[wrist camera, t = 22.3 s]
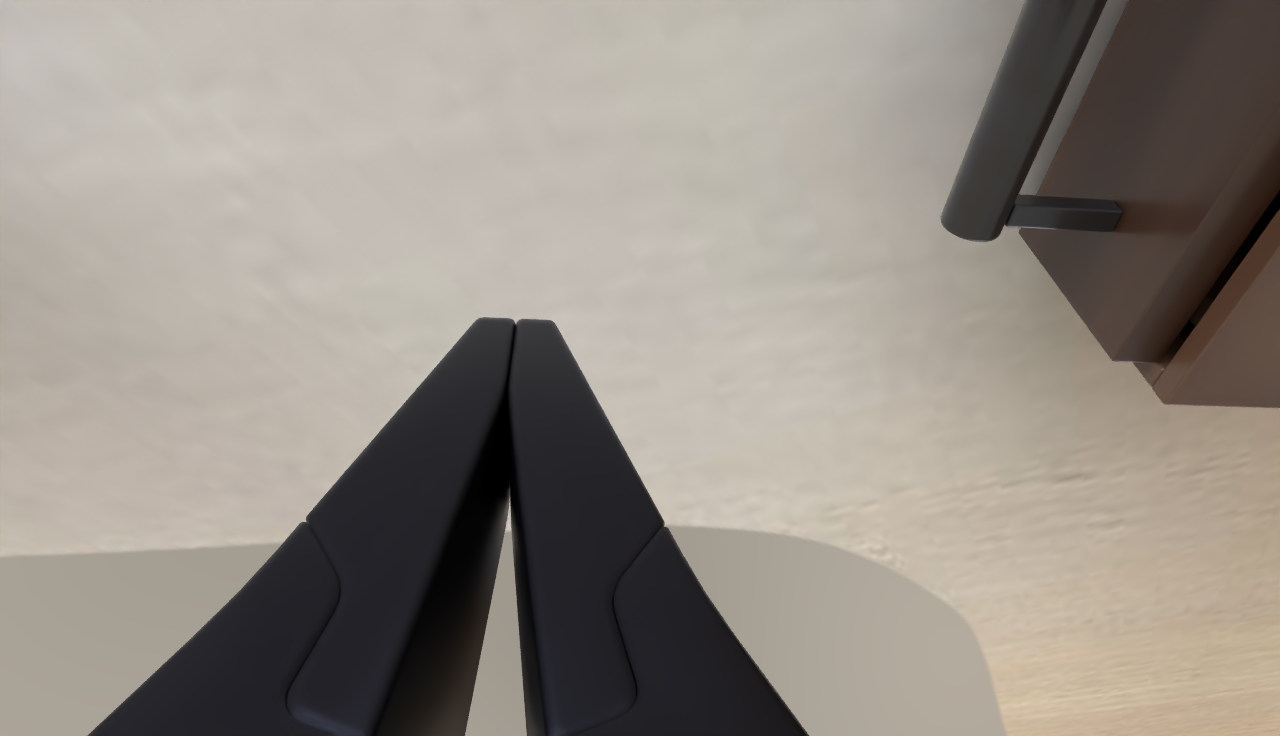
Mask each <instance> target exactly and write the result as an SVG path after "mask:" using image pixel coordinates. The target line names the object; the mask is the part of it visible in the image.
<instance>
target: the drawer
mask: <svg viewBox="0 0 1280 736" xmlns="http://www.w3.org/2000/svg"><path fill="white" fill-rule="evenodd" d="M1106 2H1107V0H1026V1H1025V3H1024V6H1023V8H1022V11H1021V13H1020V16H1019V18H1018V21H1017V24H1016V26H1015V29H1014V31H1013V34H1012V36H1011V39H1010V41H1009V44H1008V46H1007V49H1006V52H1005V54H1004V57H1003V59H1002V62H1001V64H1000V67H999V69H998V72H997V74H996V77H995V79H994V82H993V85H992V87H991V90H990V92H989V95H988V97H987V100H986V102H985V105H984V107H983V110H982V113H981V115H980V118H979V120H978V123H977V125H976V128H975V130H974V133H973V135H972V138H971V140H970V143H969V146H968V148H967V151H966V153H965V156H964V158H963V161H962V163H961V166H960V168H959V171H958V174H957V176H956V179H955V181H954V184H953V186H952V189H951V191H950V194H949V196H948V199H947V202H946V204H945V207H944V209H943V212H942V214H941V223H942V225H943V226H944V227H945V228H946V229H947V230H948V231H949V232H951V233H952V234H954V235H956V236H958V237H960V238H963V239H966V240H970V241H976V242H988V241H992V240H994V239H996V238H997V237H998V236H999V235H1000V233H1001V231H1002V229H1003V226H1004V224H1005V226H1007V227H1019V228H1021V229H1020V231H1019V234H1020V235H1021V237H1022V238H1023V240H1024V241H1025V242H1026V244H1027V245H1028V246H1029V248H1030V249H1031V251H1032V252H1033V253H1034V255H1035V256H1036V257H1037V259H1038V260H1039V261H1040V263H1041V264H1042V266H1043V267H1044V268H1045V270H1046V271H1047V272H1048V274H1049V275H1050V276H1051V278H1052V279H1053V281H1054V282H1055V283H1056V285H1057V286H1058V287H1059V289H1060V290H1061V292H1062V293H1063V294H1064V296H1065V297H1066V298H1067V300H1068V301H1069V302H1070V304H1071V305H1072V307H1073V308H1074V309H1075V311H1076V312H1077V313H1078V315H1079V316H1080V317H1081V319H1082V320H1083V322H1084V323H1085V324H1086V326H1087V327H1088V328H1089V330H1090V331H1091V333H1092V334H1093V335H1094V337H1095V338H1096V339H1097V341H1098V342H1099V343H1100V345H1101V346H1102V348H1103V349H1104V350H1105V352H1106V353H1107V354H1108V356H1109V357H1110V358H1111V360H1112V361H1115V362H1143V363H1158V362H1160V360H1161V359H1162V357H1163V356H1164V355H1165V353H1166V352H1167V350H1168V349H1169V347H1170V346H1171V345H1172V343H1173V342H1174V340H1175V339H1176V337H1177V336H1178V335H1179V333H1180V332H1181V330H1182V329H1183V327H1184V326H1185V325H1186V323H1187V322H1188V320H1190V321H1191V322H1192V323H1193V325H1194V326H1195V327H1196V325H1197V324H1198V322H1199V321H1200V320H1201V318H1202V317H1203V315H1204V314H1205V313H1206V311H1207V310H1208V308H1209V307H1210V306H1211V304H1212V303H1213V301H1214V300H1215V299H1216V297H1217V296H1218V294H1219V293H1220V292H1221V290H1222V289H1223V287H1224V286H1225V285H1226V283H1227V282H1228V280H1229V279H1230V278H1231V276H1232V275H1233V273H1234V272H1235V271H1236V269H1237V268H1238V266H1239V265H1240V264H1241V262H1242V261H1243V259H1244V258H1245V257H1246V255H1247V254H1248V252H1249V251H1250V250H1251V248H1252V247H1253V245H1254V244H1255V242H1256V241H1257V240H1258V238H1259V237H1260V235H1261V234H1262V233H1263V231H1264V230H1265V228H1266V227H1267V226H1268V224H1269V223H1270V221H1271V220H1272V219H1273V217H1274V216H1275V214H1276V213H1277V212H1278V210H1279V209H1280V0H1129V1H1128V4H1127V6H1126V8H1125V10H1124V12H1123V14H1122V16H1121V18H1120V20H1119V23H1118V25H1117V27H1116V29H1115V31H1114V33H1113V35H1112V37H1111V39H1110V41H1109V44H1108V46H1107V48H1106V50H1105V52H1104V54H1103V56H1102V58H1101V60H1100V62H1099V65H1098V67H1097V69H1096V71H1095V73H1094V75H1093V77H1092V79H1091V81H1090V83H1089V86H1088V88H1087V90H1086V92H1085V94H1084V96H1083V98H1082V100H1081V102H1080V104H1079V107H1078V109H1077V111H1076V113H1075V115H1074V117H1073V119H1072V121H1071V123H1070V126H1069V128H1068V130H1067V132H1066V134H1065V136H1064V138H1063V140H1062V142H1061V144H1060V147H1059V149H1058V151H1057V153H1056V155H1055V157H1054V159H1053V161H1052V163H1051V165H1050V168H1049V170H1048V172H1047V174H1046V176H1045V178H1044V180H1043V182H1042V184H1041V186H1040V189H1039V191H1038V193H1037V195H1019V192H1020V189H1021V187H1022V185H1023V183H1024V181H1025V178H1026V176H1027V174H1028V172H1029V170H1030V168H1031V165H1032V163H1033V161H1034V159H1035V157H1036V154H1037V152H1038V150H1039V148H1040V146H1041V144H1042V141H1043V139H1044V137H1045V135H1046V133H1047V130H1048V128H1049V126H1050V124H1051V122H1052V120H1053V117H1054V115H1055V113H1056V111H1057V109H1058V106H1059V104H1060V102H1061V100H1062V98H1063V96H1064V93H1065V91H1066V89H1067V87H1068V85H1069V82H1070V80H1071V78H1072V76H1073V74H1074V72H1075V69H1076V67H1077V65H1078V63H1079V61H1080V58H1081V56H1082V54H1083V52H1084V50H1085V48H1086V45H1087V43H1088V41H1089V39H1090V37H1091V34H1092V32H1093V30H1094V28H1095V26H1096V24H1097V21H1098V19H1099V17H1100V15H1101V13H1102V10H1103V8H1104V6H1105V4H1106Z"/></svg>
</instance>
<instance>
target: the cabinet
mask: <svg viewBox="0 0 1280 736" xmlns="http://www.w3.org/2000/svg"><path fill="white" fill-rule="evenodd" d="M1133 364H1134V365H1135V366H1136V368H1137V369H1138V370H1139V371H1140V373H1141V374H1142V375H1143V377H1144V378H1145V379H1146V381H1147V382H1148V383H1149V385H1150V386H1152V389H1153V391H1154V392H1155V393H1156V395H1157V396H1158V397H1159V398H1160V400H1161V401H1162V402H1163V404H1165V405H1193V406H1226V407H1260V408H1280V209H1279V210H1278V212H1277V213H1276V214H1275V216H1274V217H1273V219H1272V220H1271V221H1270V223H1269V224H1268V226H1267V227H1266V228H1265V230H1264V231H1263V233H1262V234H1261V235H1260V237H1259V238H1258V240H1257V241H1256V242H1255V244H1254V245H1253V247H1252V248H1251V250H1250V251H1249V252H1248V254H1247V255H1246V257H1245V258H1244V259H1243V261H1242V262H1241V264H1240V265H1239V266H1238V268H1237V269H1236V271H1235V272H1234V273H1233V275H1232V276H1231V278H1230V279H1229V280H1228V282H1227V283H1226V285H1225V286H1224V287H1223V289H1222V290H1221V292H1220V293H1219V294H1218V296H1217V297H1216V299H1215V300H1214V301H1213V303H1212V304H1211V306H1210V307H1209V308H1208V310H1207V311H1206V313H1205V314H1204V315H1203V317H1202V318H1201V320H1200V321H1199V322H1198V324H1197V325H1196V327H1195V326H1194V325H1193V323H1192V322H1191V321H1190V320H1188V322H1187V323H1186V325H1185V326H1184V327H1183V329H1182V330H1181V332H1180V333H1179V335H1178V336H1177V337H1176V339H1175V340H1174V342H1173V343H1172V345H1171V346H1170V347H1169V349H1168V350H1167V352H1166V353H1165V355H1164V356H1163V357H1162V359H1161V360H1160V362H1158V363H1143V362H1133Z"/></svg>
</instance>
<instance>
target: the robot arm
mask: <svg viewBox="0 0 1280 736" xmlns="http://www.w3.org/2000/svg"><path fill="white" fill-rule="evenodd" d="M509 500H510V503H511V528H512V541H513V553H514V567H515V582H516V595H517V608H518V622H519V635H520V648H521V661H522V676H523V689H524V702H525V716H526V729H527V736H809V735H808V734H807V732H806V731H805V729H804V728H803V727H802V725H801V724H800V723H799V721H798V720H797V719H796V717H795V716H794V715H793V713H792V712H791V710H790V709H789V708H788V706H787V705H786V704H785V702H784V701H783V700H782V698H781V697H780V696H779V694H778V693H777V692H776V690H775V689H774V688H773V686H772V685H771V684H770V682H769V681H768V679H767V678H766V677H765V675H764V674H763V673H762V671H761V670H760V669H759V667H758V666H757V664H756V663H755V662H754V660H753V659H752V658H751V656H750V655H749V654H748V652H747V651H746V650H745V648H744V647H743V646H742V644H741V643H740V642H739V640H738V639H737V638H736V636H735V635H734V633H733V632H732V630H731V629H730V627H729V626H728V624H727V623H726V622H725V620H724V619H723V617H722V616H721V614H720V613H719V611H718V610H717V609H716V607H715V606H714V604H713V603H712V601H711V600H710V598H709V597H708V596H707V594H706V592H705V591H704V589H703V587H702V586H701V584H700V582H699V581H698V579H697V578H696V576H695V574H694V573H693V571H692V569H691V568H690V566H689V564H688V562H687V561H686V559H685V557H684V556H683V554H682V552H681V550H680V549H679V547H678V545H677V543H676V541H675V540H674V538H673V536H672V534H671V532H670V531H669V529H668V528H667V527H664V520H663V518H662V517H661V515H660V513H659V511H658V509H657V508H656V506H655V504H654V502H653V500H652V498H651V497H650V495H649V493H648V491H647V489H646V488H645V486H644V484H643V482H642V480H641V478H640V477H639V475H638V473H637V471H636V469H635V468H634V466H633V464H632V462H631V460H630V458H629V457H628V455H627V453H626V451H625V449H624V448H623V446H622V444H621V442H620V440H619V439H618V437H617V435H616V433H615V431H614V429H613V428H612V426H611V424H610V422H609V420H608V419H607V417H606V415H605V413H604V411H603V409H602V408H601V406H600V404H599V402H598V400H597V399H596V397H595V395H594V393H593V391H592V389H591V388H590V386H589V384H588V382H587V380H586V379H585V377H584V375H583V373H582V371H581V370H580V368H579V366H578V364H577V362H576V360H575V359H574V357H573V355H572V353H571V351H570V350H569V348H568V346H567V344H566V342H565V340H564V339H563V337H562V335H561V333H560V331H559V330H558V328H557V326H556V325H555V323H554V322H553V321H551V320H537V319H521V320H519V321H518V322H517V324H515V322H514V320H512V319H509V318H486V317H483V318H479V319H477V320H476V321H475V322H474V323H473V324H472V326H471V327H470V328H469V329H468V330H467V331H466V332H465V334H464V335H463V336H462V337H461V338H460V339H459V341H458V342H457V343H456V344H455V345H454V346H453V348H452V349H451V350H450V351H449V352H448V353H447V354H446V356H445V357H444V358H443V359H442V360H441V361H440V363H439V364H438V365H437V366H436V367H435V368H434V370H433V371H432V372H431V373H430V374H429V375H428V376H427V378H426V379H425V380H424V381H423V382H422V383H421V385H420V386H419V387H418V388H417V389H416V390H415V392H414V393H413V394H412V395H411V396H410V397H409V398H408V400H407V401H406V402H405V403H404V404H403V405H402V407H401V408H400V409H399V410H398V411H397V412H396V414H395V415H394V416H393V417H392V418H391V419H390V420H389V422H388V423H387V424H386V425H385V426H384V427H383V429H382V430H381V431H380V432H379V433H378V434H377V436H376V437H375V438H374V439H373V440H372V441H371V442H370V444H369V445H368V446H367V447H366V448H365V449H364V451H363V452H362V453H361V454H360V455H359V456H358V458H357V459H356V460H355V461H354V462H353V463H352V464H351V466H350V467H349V468H348V469H347V470H346V471H345V473H344V474H343V475H342V476H341V477H340V478H339V480H338V481H337V482H336V483H335V484H334V485H333V486H332V488H331V489H330V490H329V491H328V492H327V493H326V495H325V496H324V497H323V498H322V499H321V500H320V501H319V503H318V504H317V505H316V506H315V507H314V508H313V510H312V511H311V512H310V513H309V514H308V515H307V517H306V521H307V522H301V523H300V524H299V525H298V526H297V527H296V529H295V530H294V531H293V532H292V533H291V534H290V536H289V537H288V538H287V539H286V540H285V542H284V543H283V544H282V545H281V546H280V548H279V549H278V550H277V551H276V552H275V553H274V554H273V555H272V556H271V557H270V558H269V559H268V561H267V562H266V563H265V564H264V565H263V566H262V567H261V568H260V569H259V570H258V571H257V573H256V574H255V575H254V576H253V577H252V578H251V579H250V580H249V581H248V582H247V583H246V585H245V586H244V587H243V588H242V589H241V590H240V591H239V592H238V593H237V594H236V595H235V596H234V597H233V598H232V599H231V600H230V601H229V602H228V603H227V604H226V605H225V606H224V607H223V608H222V609H221V610H220V611H219V612H218V613H217V614H216V615H215V616H214V617H213V618H212V619H211V620H210V621H208V622H207V624H206V625H204V626H203V627H202V628H201V629H200V630H199V631H198V632H197V633H196V634H195V635H194V636H193V637H192V638H191V639H190V640H189V641H188V642H187V643H186V644H185V645H184V646H183V647H181V648H180V649H179V650H178V651H177V652H176V653H175V654H174V655H173V656H172V657H171V658H170V659H169V660H168V661H167V662H165V663H164V664H163V665H162V666H161V667H160V668H159V669H158V670H157V671H156V672H155V673H154V674H153V675H152V676H151V677H150V678H148V679H147V680H146V681H145V682H144V683H143V684H142V685H141V686H140V687H139V688H138V689H137V690H136V691H135V692H133V693H132V694H131V695H130V696H129V697H128V698H127V699H126V700H125V701H124V702H123V703H122V704H121V705H120V706H119V707H117V708H116V709H115V710H114V711H113V712H112V713H111V714H110V715H109V716H108V717H107V718H106V719H105V720H104V721H103V722H102V723H100V724H99V725H98V726H97V727H96V728H95V729H94V730H93V731H92V732H91V733H90V734H89V735H88V736H465V732H466V726H467V721H468V716H469V711H470V706H471V701H472V696H473V691H474V685H475V680H476V676H477V670H478V665H479V660H480V655H481V650H482V645H483V640H484V635H485V629H486V624H487V619H488V614H489V609H490V604H491V599H492V594H493V589H494V584H495V578H496V573H497V568H498V563H499V558H500V553H501V548H502V543H503V537H504V532H505V527H506V521H507V515H508V509H509Z"/></svg>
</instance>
